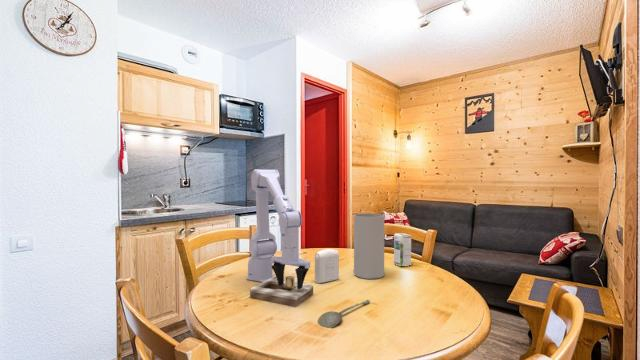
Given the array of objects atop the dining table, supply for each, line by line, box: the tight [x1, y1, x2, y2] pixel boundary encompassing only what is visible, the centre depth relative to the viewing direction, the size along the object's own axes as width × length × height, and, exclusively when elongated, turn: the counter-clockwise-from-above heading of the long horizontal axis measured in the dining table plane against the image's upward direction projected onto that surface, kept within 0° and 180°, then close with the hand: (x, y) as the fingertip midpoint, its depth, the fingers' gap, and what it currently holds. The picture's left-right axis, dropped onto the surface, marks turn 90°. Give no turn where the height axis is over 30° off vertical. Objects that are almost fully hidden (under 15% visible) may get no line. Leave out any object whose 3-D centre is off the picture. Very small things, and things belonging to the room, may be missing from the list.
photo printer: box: [314, 248, 340, 284], centre depth 122 cm, size 10×4×12 cm, turn 123°
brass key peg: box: [285, 275, 295, 291], centre depth 106 cm, size 5×5×6 cm
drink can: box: [393, 232, 412, 267], centre depth 143 cm, size 6×6×14 cm
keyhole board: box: [249, 278, 314, 308], centre depth 107 cm, size 18×12×3 cm, turn 64°
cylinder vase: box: [353, 212, 385, 280], centre depth 129 cm, size 12×12×25 cm
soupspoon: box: [317, 299, 371, 329], centre depth 93 cm, size 22×3×7 cm
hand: (290, 286), depth 105 cm, fingers open, 7 cm apart
